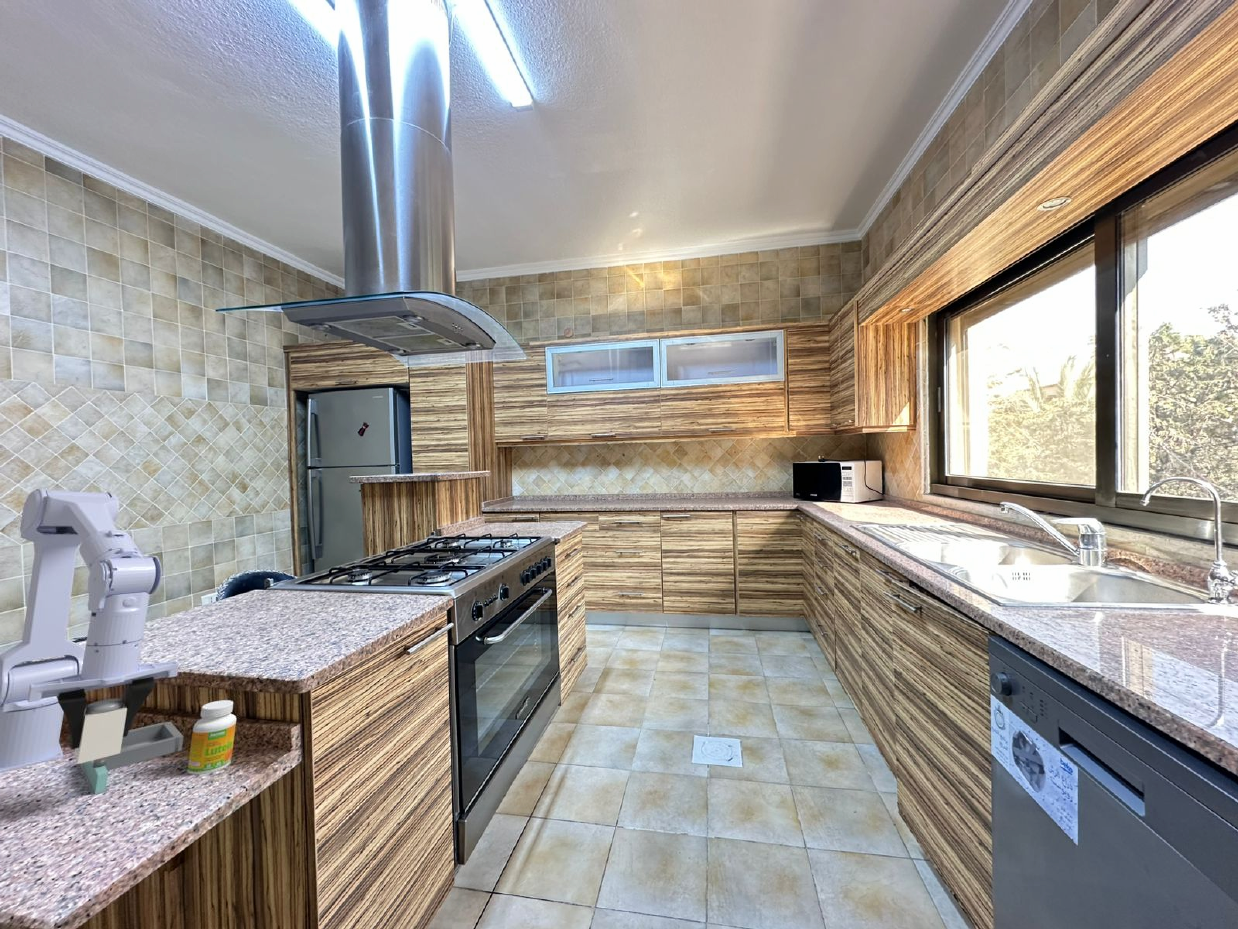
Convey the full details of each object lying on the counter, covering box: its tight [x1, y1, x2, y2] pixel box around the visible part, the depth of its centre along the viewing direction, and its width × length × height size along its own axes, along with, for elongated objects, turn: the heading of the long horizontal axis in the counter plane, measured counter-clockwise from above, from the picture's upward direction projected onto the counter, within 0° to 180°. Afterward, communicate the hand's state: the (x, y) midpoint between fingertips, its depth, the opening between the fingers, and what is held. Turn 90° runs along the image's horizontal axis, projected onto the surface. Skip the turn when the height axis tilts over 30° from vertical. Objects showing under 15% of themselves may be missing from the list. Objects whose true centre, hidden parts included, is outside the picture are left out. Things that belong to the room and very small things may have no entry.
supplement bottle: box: [187, 699, 237, 776], centre depth 77 cm, size 5×5×10 cm
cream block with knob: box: [74, 698, 127, 765], centre depth 67 cm, size 4×4×7 cm
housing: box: [79, 721, 184, 797], centre depth 77 cm, size 18×11×2 cm, turn 54°
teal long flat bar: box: [83, 758, 109, 795], centre depth 72 cm, size 13×1×3 cm, turn 54°
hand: (99, 740), depth 67 cm, fingers closed on cream block with knob, 4 cm apart
